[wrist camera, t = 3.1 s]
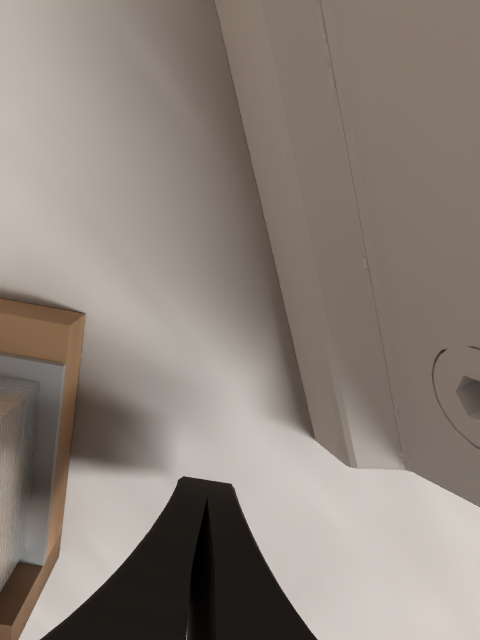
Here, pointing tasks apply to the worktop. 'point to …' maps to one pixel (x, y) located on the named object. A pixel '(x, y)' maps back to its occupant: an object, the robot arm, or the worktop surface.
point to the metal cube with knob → (16, 466)
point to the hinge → (373, 217)
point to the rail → (41, 440)
